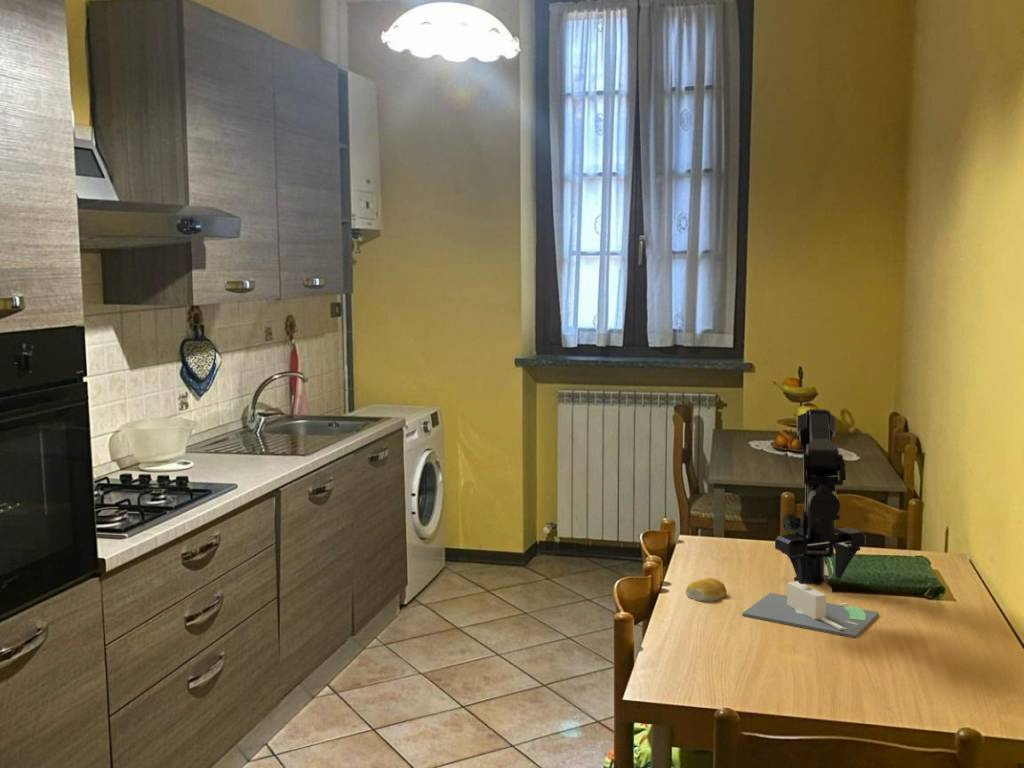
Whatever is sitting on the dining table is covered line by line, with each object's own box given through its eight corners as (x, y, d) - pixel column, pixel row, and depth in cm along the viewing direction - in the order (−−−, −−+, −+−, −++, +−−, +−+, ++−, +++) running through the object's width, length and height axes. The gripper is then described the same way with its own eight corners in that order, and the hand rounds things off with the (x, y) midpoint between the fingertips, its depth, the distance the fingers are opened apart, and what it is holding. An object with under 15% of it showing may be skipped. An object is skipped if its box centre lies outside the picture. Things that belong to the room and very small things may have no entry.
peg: (797, 603, 222) (797, 580, 221) (847, 629, 206) (847, 604, 205) (786, 604, 221) (787, 581, 220) (836, 631, 205) (837, 606, 204)
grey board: (773, 592, 231) (774, 589, 231) (881, 612, 217) (881, 608, 217) (742, 615, 217) (742, 612, 216) (855, 638, 203) (856, 634, 203)
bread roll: (732, 595, 231) (732, 578, 230) (710, 605, 224) (710, 587, 224) (701, 587, 236) (701, 570, 236) (679, 597, 230) (679, 580, 229)
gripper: (834, 495, 220) (832, 565, 222) (760, 503, 214) (759, 575, 216) (868, 506, 210) (866, 579, 212) (791, 515, 204) (790, 591, 206)
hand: (819, 580), depth 211 cm, fingers open, 9 cm apart
